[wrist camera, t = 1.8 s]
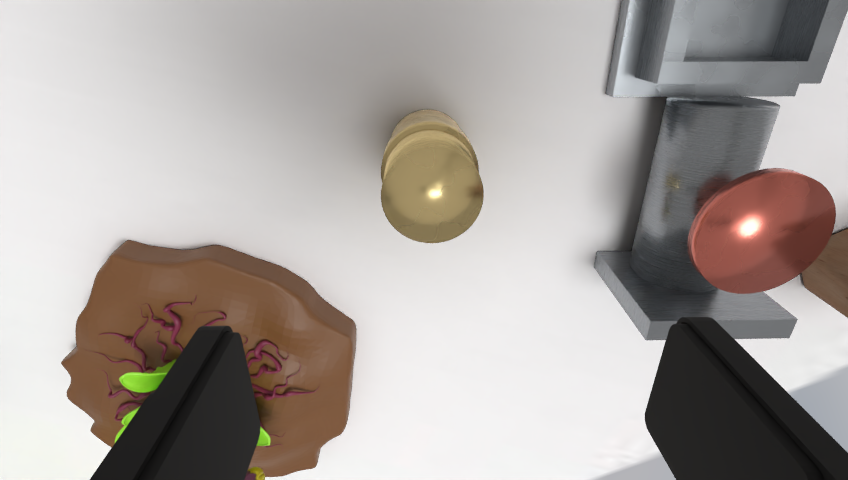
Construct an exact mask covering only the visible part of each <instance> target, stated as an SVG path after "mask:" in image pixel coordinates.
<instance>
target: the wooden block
mask: <svg viewBox="0 0 848 480" xmlns="http://www.w3.org/2000/svg"><path fill="white" fill-rule="evenodd" d="M802 278H803V283H804V286H805V288H806V289H808V290H809V291H810V292H812V293H813V294H815V295H816V296H818V297H819V298H820V299H822V300H823V301H825V302H826V303H827V304H829V305H830V306H832V307H833V308H835V309H836V310H837V311H839V312H840V313H842V314H843V315H845V316H846V317H847V318H848V229H846V230H843V231H841V232H838V233H836V234H833V235H831V237H830V239H829V241H828V243H827V245H826V246H825V248H824V249H823V251H822V252H821V254H820V255H819V256H818V257H817V259H816V260H815V261H814V262H813V263H812V264H811V265H810V266H809V267H808V268H806V269H805V270H804V271H803V272H802Z"/></svg>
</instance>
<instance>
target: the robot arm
mask: <svg viewBox="0 0 848 480" xmlns="http://www.w3.org/2000/svg"><path fill="white" fill-rule="evenodd" d="M645 422H646V426H647V429H648V431H649V433H650V435H651V436H652V438H653V440H654V442H655V443H656V445H657V447H658V449H659V450H660V452H661V454H662V455H663V457H664V459H665V461H666V462H667V464H668V466H669V468H670V470H671V471H672V473H673V475H674V477H675V478H676V480H848V453H847V452H846V451H845V450H844V449H843V448H842V447H841V446H840V445H839V444H838V443H837V442H836V441H835V440H834V439H833V438H832V437H831V436H830V435H829V434H828V433H827V432H826V431H825V430H824V429H823V428H822V427H821V426H820V425H819V424H818V423H817V422H816V421H815V420H814V419H813V418H812V417H811V416H810V415H809V414H808V413H807V412H806V411H805V410H804V409H803V408H802V407H801V406H800V405H799V404H798V403H797V402H796V401H795V400H794V399H793V398H792V397H791V396H790V395H789V394H788V393H787V392H786V391H785V390H784V389H783V388H782V387H781V386H780V385H779V384H778V383H777V382H776V381H775V380H774V379H773V378H772V377H771V376H770V375H769V374H768V373H767V372H766V371H765V370H764V369H763V368H762V367H761V366H760V365H759V364H758V363H757V362H756V361H755V360H754V359H753V358H752V357H751V356H750V355H749V354H748V353H747V352H746V351H745V350H744V349H743V348H742V347H741V346H740V345H739V344H738V343H737V342H736V341H735V340H734V339H733V338H732V337H731V336H730V335H729V334H728V333H727V332H726V331H725V330H724V329H723V328H722V327H721V326H720V325H719V324H718V323H717V322H716V321H715V320H714V319H713V318H711V317H682V318H680V319H679V320H678V321H677V323H676V324H673V325H672V326H671V327H670V329H669V332H668V335H667V339H666V342H665V346H664V349H663V353H662V356H661V360H660V363H659V366H658V370H657V373H656V377H655V380H654V384H653V387H652V391H651V394H650V398H649V401H648V405H647V408H646V412H645ZM259 436H260V419H259V414H258V410H257V405H256V401H255V397H254V392H253V388H252V383H251V379H250V374H249V370H248V365H247V361H246V356H245V352H244V348H243V343H242V339H241V335H240V334H239V333H238V332H233V331H232V329H231V327H230V326H201V327H199V328H198V329H197V330H196V332H195V333H194V335H193V336H192V338H191V339H190V341H189V342H188V344H187V345H186V347H185V348H184V350H183V351H182V353H181V354H180V355H179V357H178V358H177V360H176V361H175V363H174V364H173V366H172V367H171V369H170V370H169V372H168V373H167V375H166V376H165V378H164V379H163V380H162V382H161V383H160V385H159V386H158V388H157V389H156V391H154V392H153V393H151V394H150V395H149V396H148V397H147V398H146V399H145V401H144V402H143V404H142V405H141V406H140V408H139V409H138V411H137V412H136V414H135V415H134V417H133V418H132V419H131V421H130V422H129V424H128V425H127V427H126V428H125V430H124V431H123V432H122V434H121V435H120V437H119V438H118V440H117V441H116V443H115V444H114V445H113V447H112V448H111V450H110V451H109V453H108V454H107V456H106V457H105V459H104V460H103V461H102V463H101V464H100V466H99V467H98V469H97V470H96V472H95V473H94V474H93V476H92V477H91V479H90V480H244V479H245V476H246V473H247V471H248V468H249V465H250V462H251V459H252V457H253V454H254V451H255V448H256V446H257V443H258V440H259Z"/></svg>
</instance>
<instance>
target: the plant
mask: <svg viewBox="0 0 848 480" xmlns="http://www.w3.org/2000/svg"><path fill="white" fill-rule="evenodd" d="M201 326H230V327H231V329H232V331H233V332H238V333H239V334H240V335H241V339H242V343H243V348H244V352H245V356H246V361H247V365H248V370H249V374H250V379H251V383H252V388H253V392H254V397H255V401H256V405H257V410H258V414H259V419H260V436H259V440H258V443H257V446H256V448H255V451H254V454H253V457H252V459H251V462H250V465H249V468H248V471H247V473H246V476H245V479H244V480H265V477H278V476H284V475H288V474H290V473H293V472H296V471H300V470H305V469H312V468H315V467H316V465H317V462H318V458H319V453H320V448H321V447H322V446H323V445H324V444H325V443H327V442H328V441H329V440H331V439H333V438H335V437H337V436H339V435H340V434H341V433H342V432H343V431H344V429H345V427H346V424H347V420H348V415H349V408H350V396H351V389H352V377H353V364H354V358H355V350H356V326H355V323H354V321H353V320H352V319H350V318H349V317H347V316H346V315H344V314H343V313H342V312H340V311H339V310H337V309H336V308H334V307H333V306H331V305H330V304H329V303H327V302H326V301H325V300H324V299H323V298H322V297H320V296H319V295H318V293H317V292H316V291H315V289H314V288H313V287H312V286H311V285H310V284H309V283H308V282H307V281H305V280H304V279H302V278H301V277H299V276H297V275H296V274H294V273H293V272H291V271H289V270H287V269H285V268H283V267H281V266H279V265H276V264H273V263H270V262H267V261H264V260H261V259H258V258H255V257H252V256H250V255H247V254H244V253H242V252H239V251H236V250H233V249H231V248H228V247H224V246H220V245H211V246H207V247H202V248H198V249H192V250H178V249H170V248H163V247H157V246H151V245H146V244H143V243H139V242H135V241H132V240H127V241H126V242H125V243H123V244H122V245H121V246H120V247H119V248H118V249H117V250H116V251H114V252H113V253H112V254H111V255H110V257H109V258H108V260H107V261H106V263H105V264H104V265H103V266H102V267H101V269H100V270H99V272H98V273H97V275H96V278H95V280H94V284H93V288H92V291H91V295H90V298H89V301H88V303H87V305H86V307H85V308H84V310H83V311H82V312H81V314H80V315H79V317H78V319H77V323H76V345H77V346H76V347H75V348H74V349H73V350H72V351H71V352H70V353H69V354H68V355H67V356H66V357H65V358H64V359H63V361H62V362H61V364H62V365H63V367H64V368H65V369H66V370H67V371H68V373H69V374H70V376H71V384H70V386H69V388H68V390H67V397H68V399H69V400H70V401H71V402H72V403H74V404H75V405H76V406H78V407H79V408H80V409H82V410H83V411H85V412H86V413H87V414H88V415H89V416H90V417H91V418H92V419H94V421H95V422H94V423H93V425H92V427H91V432H92V433H93V434H94V435H95V436H96V437H98V438H99V439H100V440H102V441H103V442H104V443H106V444H107V445H109V446H110V447H113V445H114V444H115V443H116V441H117V440H118V438H119V437H120V435H121V434H122V432H123V431H124V430H125V428H126V427H127V425H128V424H129V422H130V421H131V419H132V418H133V417H134V415H135V414H136V412H137V411H138V409H139V408H140V406H141V405H142V404H143V402H144V401H145V399H146V398H147V397H148V396H149V395H150V394H151V393H153V392H154V391H156V389H157V388H158V386H159V385H160V383H161V382H162V380H163V379H164V378H165V376H166V375H167V373H168V372H169V370H170V369H171V367H172V366H173V364H174V363H175V361H176V360H177V358H178V357H179V355H180V354H181V353H182V351H183V350H184V348H185V347H186V345H187V344H188V342H189V341H190V339H191V338H192V336H193V335H194V333H195V332H196V330H197V329H198V328H199V327H201Z"/></svg>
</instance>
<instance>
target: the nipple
mask: <svg viewBox="0 0 848 480" xmlns="http://www.w3.org/2000/svg"><path fill="white" fill-rule="evenodd" d="M381 178H382V183H383V184H382V190H381V202H382V207H383V211H384V213H385V215H386V217H387V219H388V221H389V222H390V223H391V225H392V226H393V227H394V228H395V229H396V230H397V231H398V232H400V233H401V234H402V235H404V236H406V237H408V238H410V239H412V240H415V241H419V242H424V243H439V242H445V241H448V240H451V239H453V238H455V237H457V236H459V235H461V234H462V233H464V232H465V231H466V230H467V229H468V228H469V227H470V226H471V225H472V224H473V223H474V222H475V220H476V218H477V217H478V215H479V213H480V210H481V207H482V204H483V185H482V181H481V178H480V175H479V170H478V161H477V158H476V155H475V152H474V150H473V148H472V146H471V143H470V141H469V140H468V138H467V136H466V135H465V134H464V133H463V132H462V131H461V129H460V128H459V126H458V124H457V123H456V122H455V121H454V120H453V119H452V118H451V117H449V116H448V115H446V114H444V113H442V112H439V111H436V110H428V109H427V110H419V111H415V112H413V113H411V114H409V115H407V116H406V117H404V118H403V119H402V120H401V121H400V122H399V123H398V124H397V125H396V127H395V129H394V130H393V133H392V135H391V138H390V140H389V141H388V143H387V146H386V148H385V151H384V155H383V160H382V166H381Z"/></svg>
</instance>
